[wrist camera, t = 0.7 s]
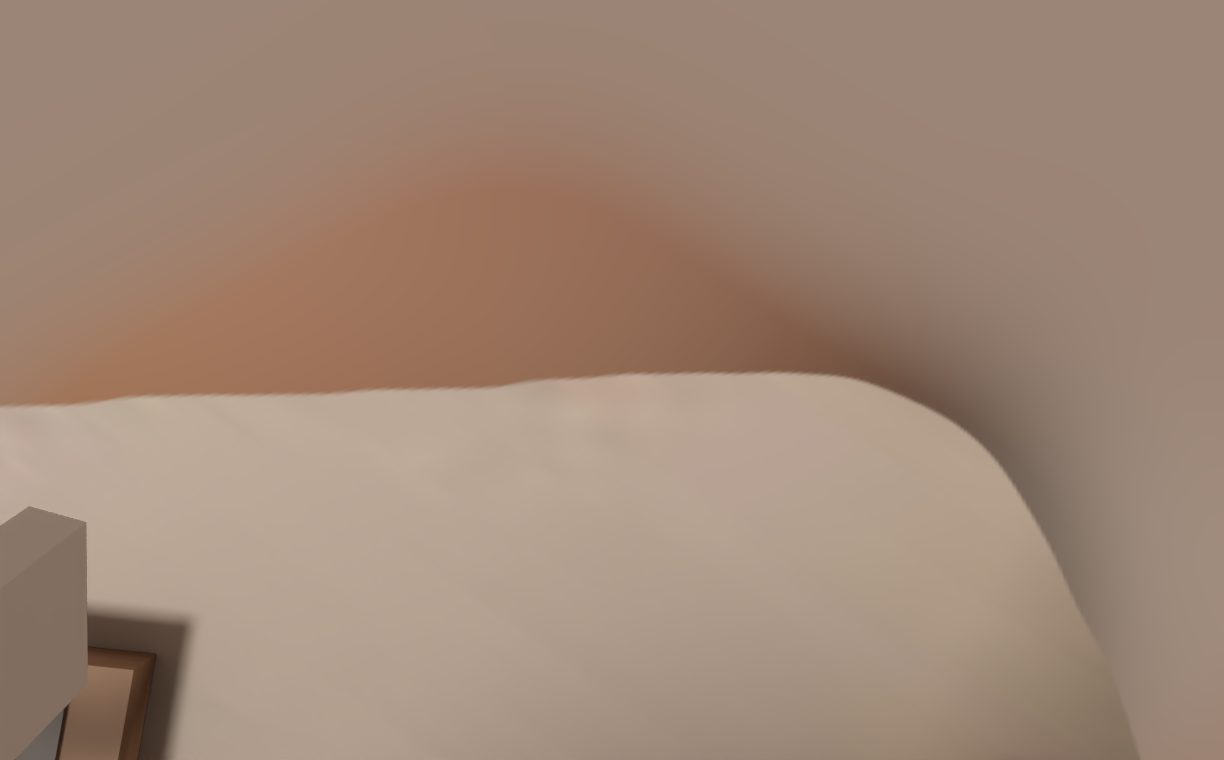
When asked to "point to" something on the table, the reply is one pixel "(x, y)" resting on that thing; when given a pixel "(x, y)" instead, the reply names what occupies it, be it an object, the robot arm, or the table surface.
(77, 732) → the switch panel
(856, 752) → the table surface
